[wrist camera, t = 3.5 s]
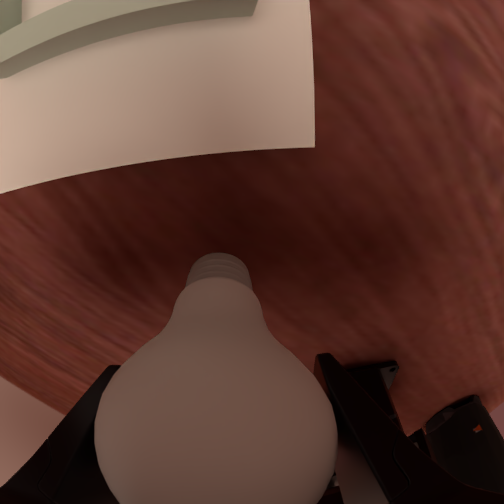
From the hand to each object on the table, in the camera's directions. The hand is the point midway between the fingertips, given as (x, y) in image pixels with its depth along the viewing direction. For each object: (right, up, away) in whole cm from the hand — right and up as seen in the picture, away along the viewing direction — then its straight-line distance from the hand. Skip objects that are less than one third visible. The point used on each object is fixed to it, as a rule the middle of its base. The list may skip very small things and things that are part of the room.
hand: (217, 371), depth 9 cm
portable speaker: (+25, -16, +19) cm, 35 cm away
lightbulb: (0, +3, +5) cm, 6 cm away
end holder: (-4, +14, -1) cm, 15 cm away
